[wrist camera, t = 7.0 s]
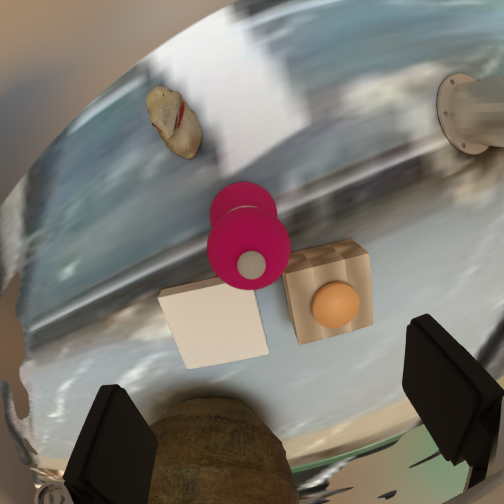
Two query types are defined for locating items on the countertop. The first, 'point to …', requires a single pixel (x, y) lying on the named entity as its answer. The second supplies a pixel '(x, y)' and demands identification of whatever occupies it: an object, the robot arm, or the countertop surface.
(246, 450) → the clay pot
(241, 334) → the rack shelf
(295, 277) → the stand
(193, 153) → the chocolate bunny
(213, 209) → the pepper mill
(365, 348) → the countertop surface
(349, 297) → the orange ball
